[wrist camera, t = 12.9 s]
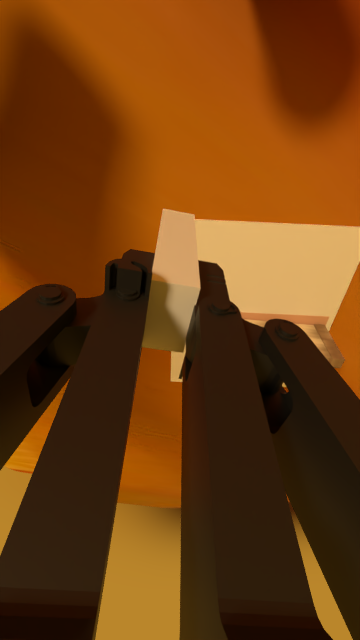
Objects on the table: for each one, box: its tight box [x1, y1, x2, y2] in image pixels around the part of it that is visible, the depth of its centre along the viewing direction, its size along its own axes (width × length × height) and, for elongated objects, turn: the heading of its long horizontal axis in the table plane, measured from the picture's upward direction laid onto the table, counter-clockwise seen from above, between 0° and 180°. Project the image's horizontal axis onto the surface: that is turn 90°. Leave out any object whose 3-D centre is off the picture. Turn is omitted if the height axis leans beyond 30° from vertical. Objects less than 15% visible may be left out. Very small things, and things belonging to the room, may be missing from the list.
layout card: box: [171, 219, 360, 387], centre depth 51 cm, size 28×34×1 cm
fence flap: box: [244, 319, 345, 368], centre depth 48 cm, size 15×2×9 cm, turn 85°
